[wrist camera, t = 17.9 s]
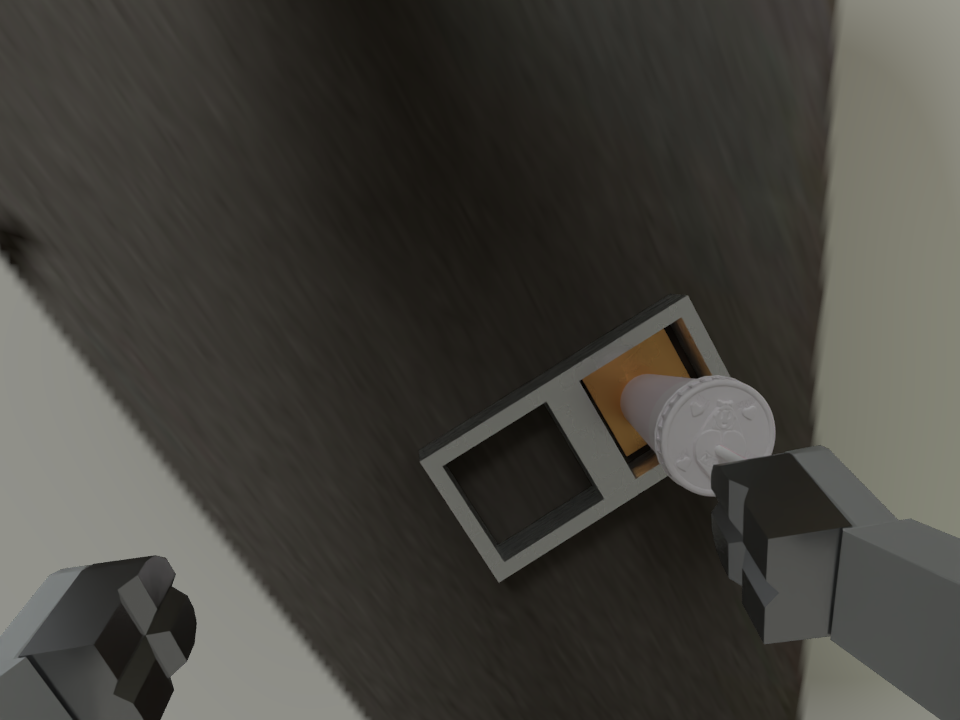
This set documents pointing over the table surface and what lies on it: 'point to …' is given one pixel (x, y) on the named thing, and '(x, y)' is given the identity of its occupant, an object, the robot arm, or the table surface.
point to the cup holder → (580, 428)
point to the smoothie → (698, 424)
